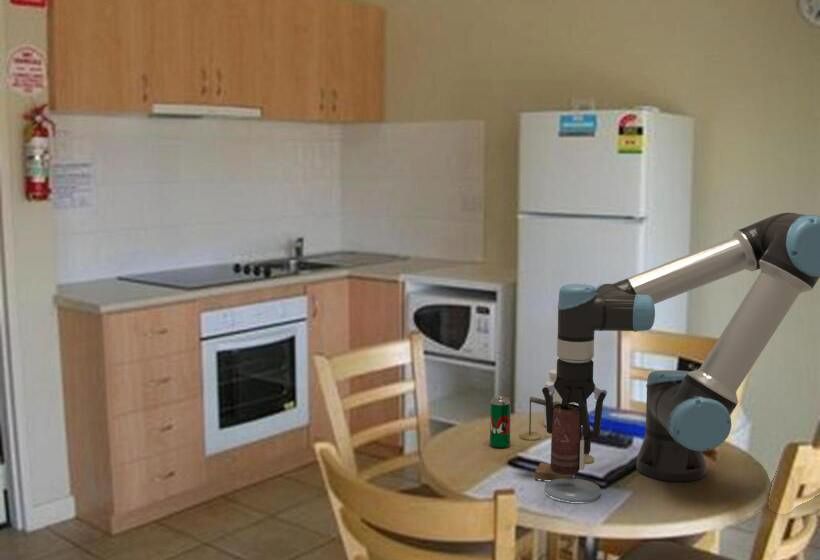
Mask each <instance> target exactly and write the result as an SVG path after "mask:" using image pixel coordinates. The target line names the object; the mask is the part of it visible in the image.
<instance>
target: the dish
mask: <svg viewBox="0 0 820 560" xmlns="http://www.w3.org/2000/svg"><path fill="white" fill-rule="evenodd" d="M545 492H546V493H547V494H548V495H549V496H552V497H554V498H557V499H560V500H564V501H569V502H590V503H593V502H596V501H597V500H599V499H600V498H601V487H600V486H599V485H598V484H596V483H595V482H592V481H591V480H590V481H589V480H587V479H583V478H576V477H575V478H572V479H565V478H560V479H555V480H551V481H549V482H546V483H545V484H544V493H545ZM595 500H596V501H595ZM592 501H593V502H592Z"/></svg>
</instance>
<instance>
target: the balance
mask: <svg viewBox="0 0 820 560" xmlns="http://www.w3.org/2000/svg"><path fill="white" fill-rule="evenodd" d="M532 403H533V404H537V405H542V406H543V407H544V406H546V403H545V400H544V398H543V399H542V398H538V397H535V396H530V397H529V425H528V427H529V428H528V430H529V431H522V432H519V433H518V439H519V440H522V441H526V442H536V441H539V440H541V439H542V433H539V432H537V431H531V429H532V428H531V427H532V426H531V425H532ZM556 404H561V403H560V402H558V401H555V402H553V407H554V406H555V405H556ZM582 436H583V437H584V435H583V434H582ZM594 462H595V457H594V456H593V455H590V454H589V455H588V454H585V465H590V464H593V463H594ZM573 476H574V474H573V475H562V474H558V473H555V472H553V471H552V469H551V463H546V462H545V463H543V462H540V463H539V464H538V467H536V469H535V472H534V480H535V479H541V480H555V479H560V478H565V479H572V478H573Z"/></svg>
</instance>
